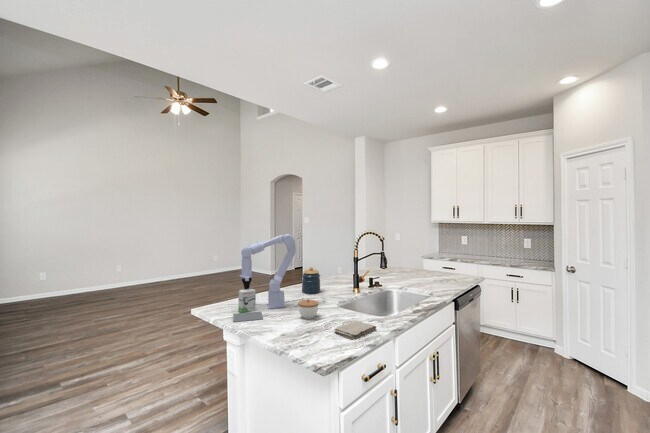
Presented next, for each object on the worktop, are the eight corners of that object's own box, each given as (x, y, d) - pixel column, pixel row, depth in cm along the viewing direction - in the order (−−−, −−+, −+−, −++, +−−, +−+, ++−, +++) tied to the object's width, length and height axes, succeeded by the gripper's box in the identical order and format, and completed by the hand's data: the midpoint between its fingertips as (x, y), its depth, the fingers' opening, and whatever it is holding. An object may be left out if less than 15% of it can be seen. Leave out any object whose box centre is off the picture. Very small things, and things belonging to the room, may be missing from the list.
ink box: (241, 313, 173) (241, 292, 172) (238, 311, 177) (238, 290, 177) (255, 310, 178) (255, 289, 178) (252, 308, 182) (252, 288, 182)
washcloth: (332, 334, 144) (332, 327, 144) (356, 324, 157) (356, 318, 157) (352, 341, 136) (352, 334, 136) (376, 330, 149) (376, 324, 149)
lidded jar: (309, 312, 174) (309, 295, 174) (322, 317, 167) (322, 299, 166) (294, 316, 167) (294, 299, 167) (307, 321, 159) (307, 303, 159)
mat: (261, 312, 174) (261, 311, 174) (263, 319, 162) (263, 318, 162) (233, 314, 170) (233, 313, 170) (233, 322, 158) (233, 321, 158)
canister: (320, 294, 213) (320, 268, 213) (301, 294, 213) (301, 268, 213) (320, 289, 226) (320, 265, 226) (302, 289, 226) (302, 265, 226)
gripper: (239, 265, 188) (239, 288, 189) (239, 270, 174) (239, 294, 175) (251, 265, 190) (251, 287, 191) (252, 269, 176) (252, 293, 177)
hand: (246, 290), depth 183 cm, fingers closed
